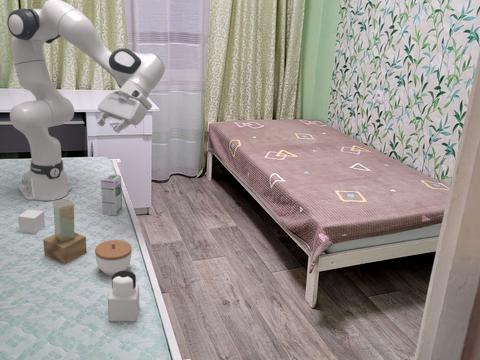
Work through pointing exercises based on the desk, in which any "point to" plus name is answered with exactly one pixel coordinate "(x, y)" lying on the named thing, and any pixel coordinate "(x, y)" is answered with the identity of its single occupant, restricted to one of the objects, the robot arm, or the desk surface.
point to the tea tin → (64, 220)
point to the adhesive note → (31, 221)
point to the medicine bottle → (123, 297)
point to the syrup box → (111, 194)
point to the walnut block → (64, 248)
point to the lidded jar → (113, 256)
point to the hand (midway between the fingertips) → (107, 128)
